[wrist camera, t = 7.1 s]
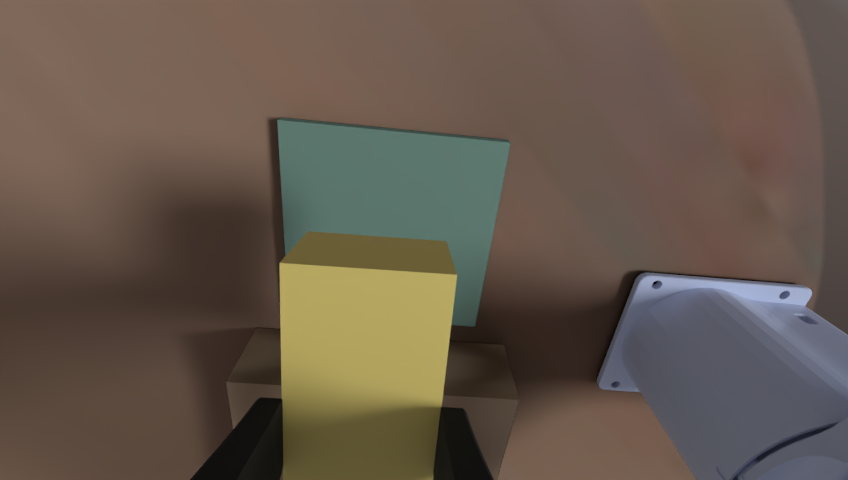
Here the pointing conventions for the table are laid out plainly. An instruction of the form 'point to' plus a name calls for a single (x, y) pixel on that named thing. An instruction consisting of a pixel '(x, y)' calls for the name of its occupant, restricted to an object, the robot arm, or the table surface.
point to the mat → (395, 191)
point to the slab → (363, 355)
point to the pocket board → (464, 388)
